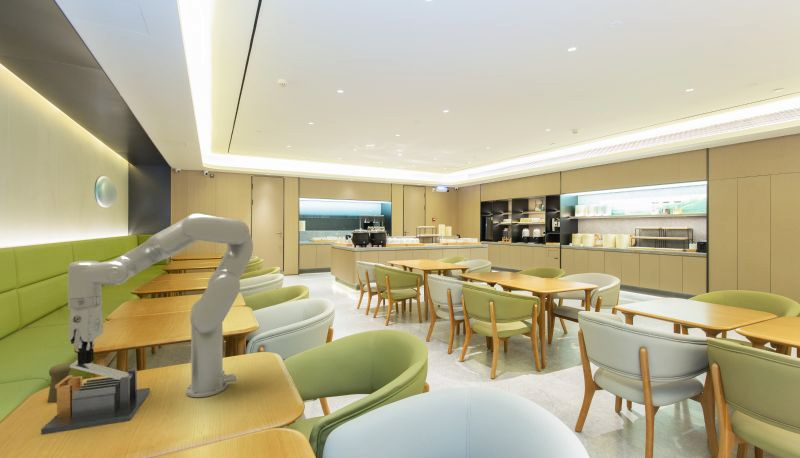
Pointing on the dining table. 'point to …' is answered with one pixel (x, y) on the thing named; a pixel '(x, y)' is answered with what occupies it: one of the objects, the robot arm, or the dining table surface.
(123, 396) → the heat sink base
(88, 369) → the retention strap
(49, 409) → the dining table surface
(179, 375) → the dining table surface
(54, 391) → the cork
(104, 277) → the robot arm
